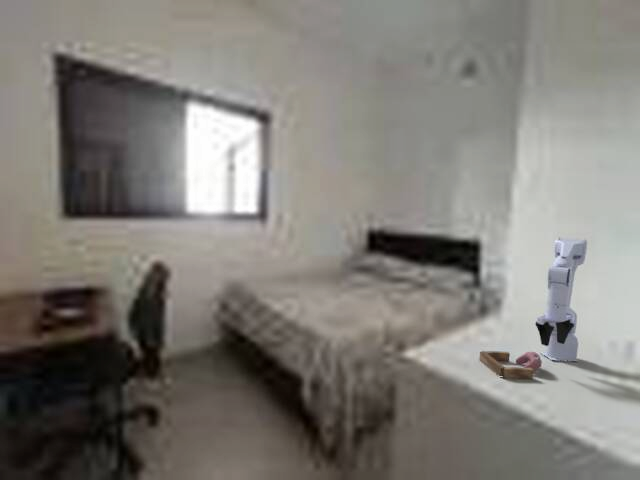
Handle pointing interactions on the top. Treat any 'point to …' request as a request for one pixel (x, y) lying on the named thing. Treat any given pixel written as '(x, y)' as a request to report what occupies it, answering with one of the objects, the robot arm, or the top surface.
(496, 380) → the top surface
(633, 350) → the top surface
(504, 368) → the docking bay
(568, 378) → the top surface
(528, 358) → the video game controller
